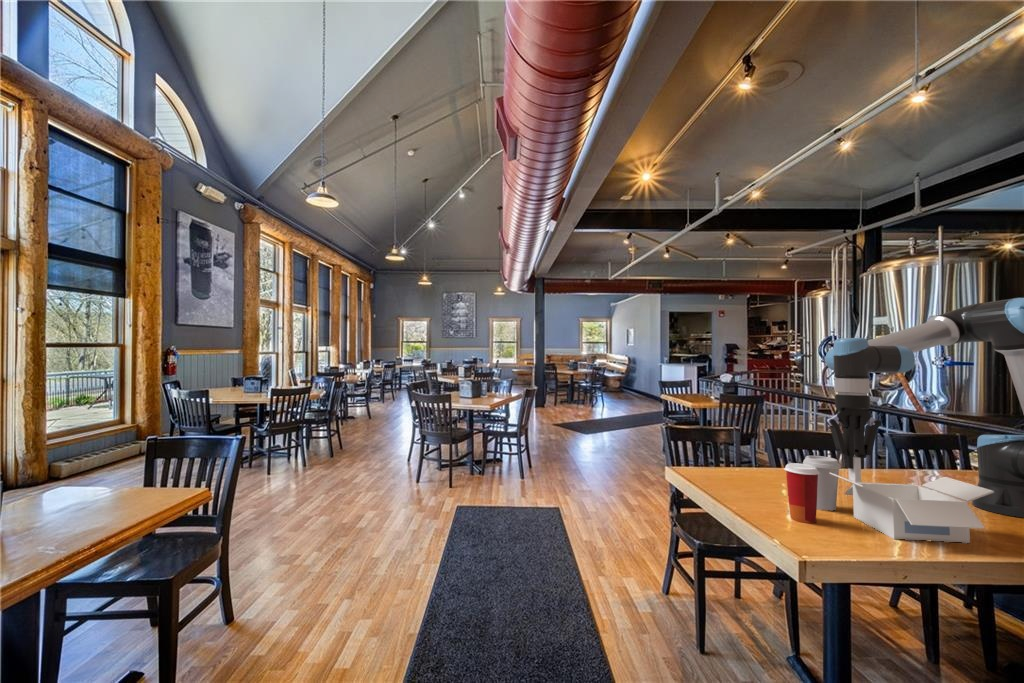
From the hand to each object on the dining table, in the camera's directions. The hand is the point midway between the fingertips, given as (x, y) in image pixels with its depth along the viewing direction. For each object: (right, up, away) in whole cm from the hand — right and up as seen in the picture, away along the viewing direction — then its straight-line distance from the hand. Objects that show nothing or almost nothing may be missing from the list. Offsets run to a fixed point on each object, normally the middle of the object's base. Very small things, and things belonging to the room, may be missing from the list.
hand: (854, 480), depth 115 cm
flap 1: (+1, -1, 0) cm, 1 cm away
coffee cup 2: (+2, -14, +15) cm, 20 cm away
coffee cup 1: (-11, -13, +5) cm, 18 cm away
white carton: (+12, -12, -2) cm, 18 cm away
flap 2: (+24, -1, -3) cm, 24 cm away
